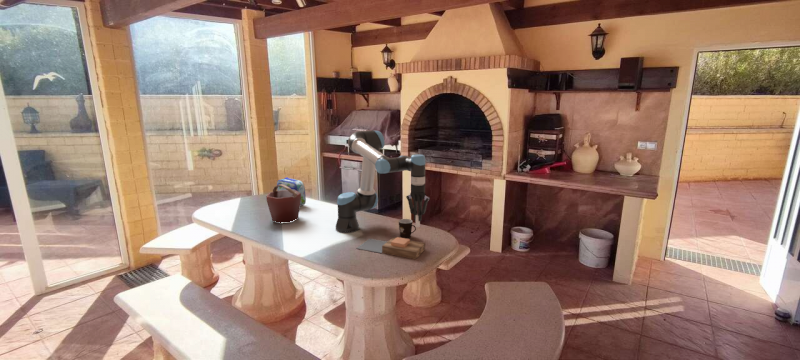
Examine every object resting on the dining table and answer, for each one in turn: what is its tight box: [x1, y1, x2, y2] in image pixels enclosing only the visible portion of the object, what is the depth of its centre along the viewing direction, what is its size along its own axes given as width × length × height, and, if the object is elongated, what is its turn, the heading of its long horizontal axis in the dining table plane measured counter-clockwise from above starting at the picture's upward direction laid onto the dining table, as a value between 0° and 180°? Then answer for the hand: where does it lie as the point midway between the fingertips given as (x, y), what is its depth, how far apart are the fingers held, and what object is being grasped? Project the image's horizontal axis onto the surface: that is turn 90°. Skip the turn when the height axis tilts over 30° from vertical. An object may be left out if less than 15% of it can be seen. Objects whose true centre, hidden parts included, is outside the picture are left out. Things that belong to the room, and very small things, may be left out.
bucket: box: [266, 184, 301, 224], centre depth 264 cm, size 24×22×25 cm
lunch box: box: [276, 177, 307, 207], centre depth 301 cm, size 26×11×21 cm, turn 51°
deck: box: [381, 237, 426, 260], centre depth 214 cm, size 14×20×4 cm
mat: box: [355, 238, 388, 254], centre depth 222 cm, size 16×16×1 cm
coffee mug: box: [398, 218, 417, 239], centre depth 234 cm, size 12×9×10 cm
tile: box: [391, 236, 411, 248], centre depth 214 cm, size 8×8×2 cm
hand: (417, 226), depth 207 cm, fingers closed
